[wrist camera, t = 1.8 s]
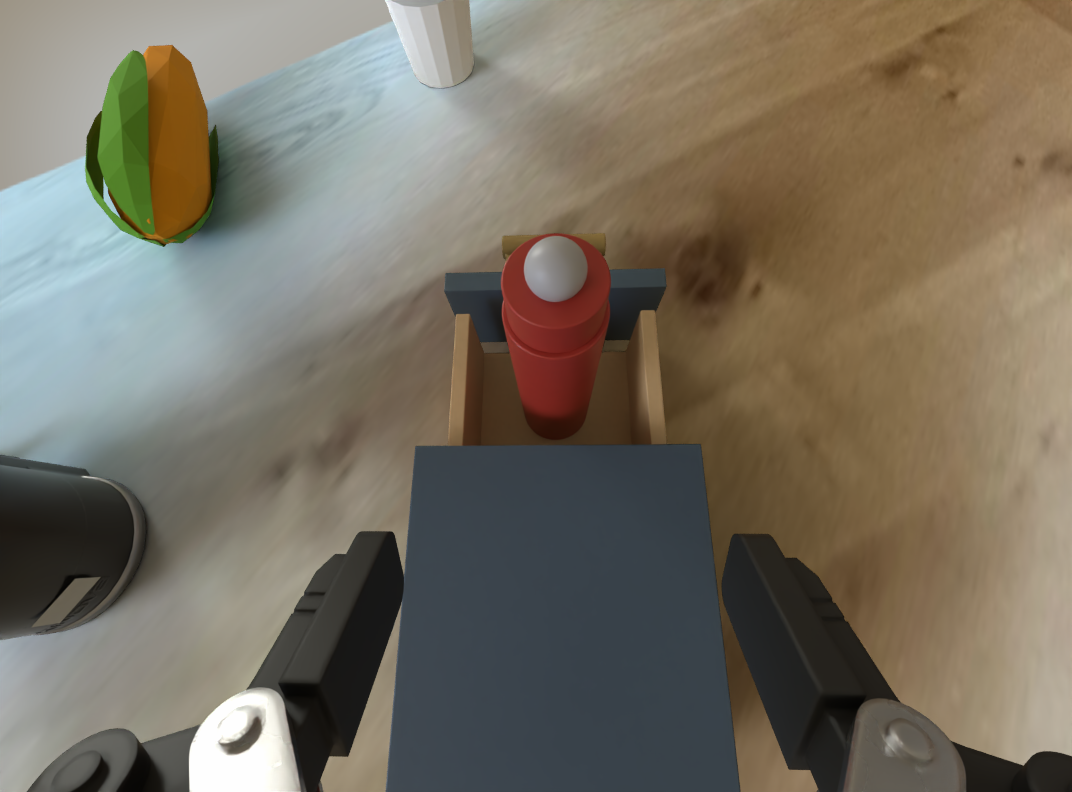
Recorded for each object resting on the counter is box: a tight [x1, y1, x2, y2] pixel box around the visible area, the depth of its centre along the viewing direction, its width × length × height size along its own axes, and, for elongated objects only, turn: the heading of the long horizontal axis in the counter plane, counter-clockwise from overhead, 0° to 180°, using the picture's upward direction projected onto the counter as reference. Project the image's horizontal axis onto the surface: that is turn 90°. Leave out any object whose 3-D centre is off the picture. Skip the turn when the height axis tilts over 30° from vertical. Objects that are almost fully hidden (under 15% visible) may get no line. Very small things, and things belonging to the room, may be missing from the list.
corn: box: [85, 45, 219, 247], centre depth 36 cm, size 7×8×20 cm
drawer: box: [444, 233, 667, 446], centre depth 27 cm, size 19×12×7 cm, turn 0°
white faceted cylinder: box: [385, 0, 474, 88], centre depth 38 cm, size 7×7×7 cm
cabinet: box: [386, 444, 740, 792], centre depth 23 cm, size 16×14×9 cm
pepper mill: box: [501, 233, 611, 440], centre depth 21 cm, size 4×4×16 cm
